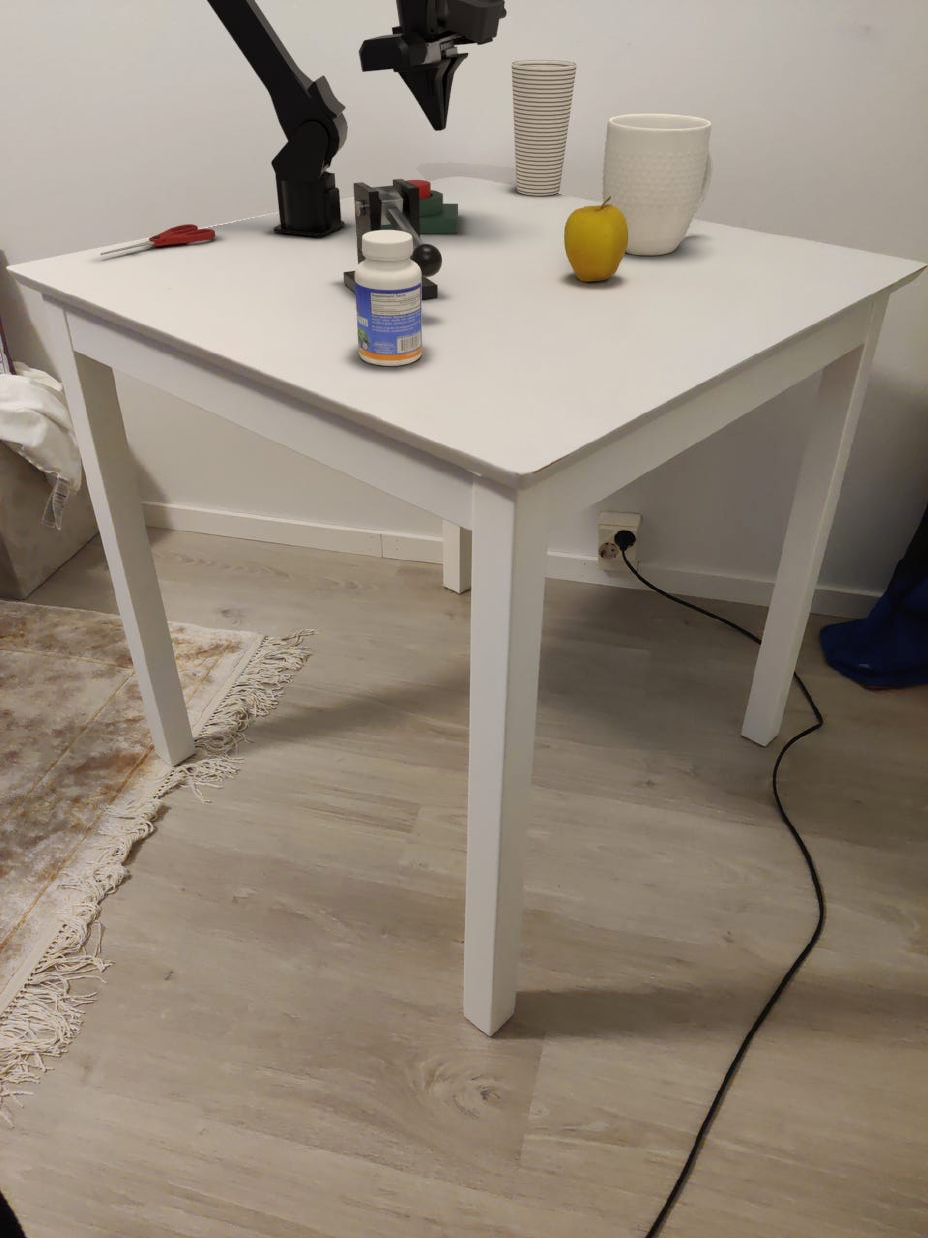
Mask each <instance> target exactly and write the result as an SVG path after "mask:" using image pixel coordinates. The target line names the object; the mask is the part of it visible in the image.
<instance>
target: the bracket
mask: <svg viewBox="0 0 928 1238" xmlns="http://www.w3.org/2000/svg"><path fill="white" fill-rule="evenodd" d="M392 186H394V188H395V189H396V190H397V192H398V193H399V194H400V196H401V197H402V198H403V212H402V214H403V216H404V217H405V218H406V220H407V221H408V222H409V224H410V225H411V226H412V228H413V229H414V231H415V232H416V233H417V235H418V236H419V237H420V238H421V233H420V207H419V187H417V186H415V185H413V184H411V183H409V182H407V180H405V179H404V178H397V179H396V178H394V179H392ZM372 187H373V186H370V185H368V184H366V182H365V183H364V182H363V181H361V182H353V201H354V218H355V234H356V235H355V236H356V237H355V238H356V252H357V253H356V254H357V265H358V264H359V263H361V262H362V261H364V260H365V259H366V257H365V256H364V255H363V252H362V236H363V235H364V234H365V233H368V232H371V231H378V230H381V229H380V206H379V191H377V190H375V189H374V188H372ZM394 230H395V229H394ZM411 256H412V255H411ZM411 256H410V260H411ZM342 275H343V284H344V285H345V286H346V287H347V288H348V289H350V290H351V291H352V292H353V293H354V294H356V292H355V270H349V271H343V274H342ZM421 280H422V285H421V290H422V300H428V299H434V298H438V297H439V295H438V294H439V293H438V290H439V289H438V284H437V283H435V282H433V281H432V280H431V279H429V277H422V276H421Z"/></svg>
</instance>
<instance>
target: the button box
mask: <svg viewBox="0 0 928 1238" xmlns="http://www.w3.org/2000/svg"><path fill="white" fill-rule="evenodd" d="M419 207H420V234H436V235H437V234H442V235H443V234H445V235H446V234H447V235H455V234H457V229H458V221H459V203H444V194H443V192H440V191H437V190H434V189H431V197H428V198H421V199H419ZM380 229H381V230H394V228H393V227H392V225H382V226H381V225H380Z"/></svg>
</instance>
